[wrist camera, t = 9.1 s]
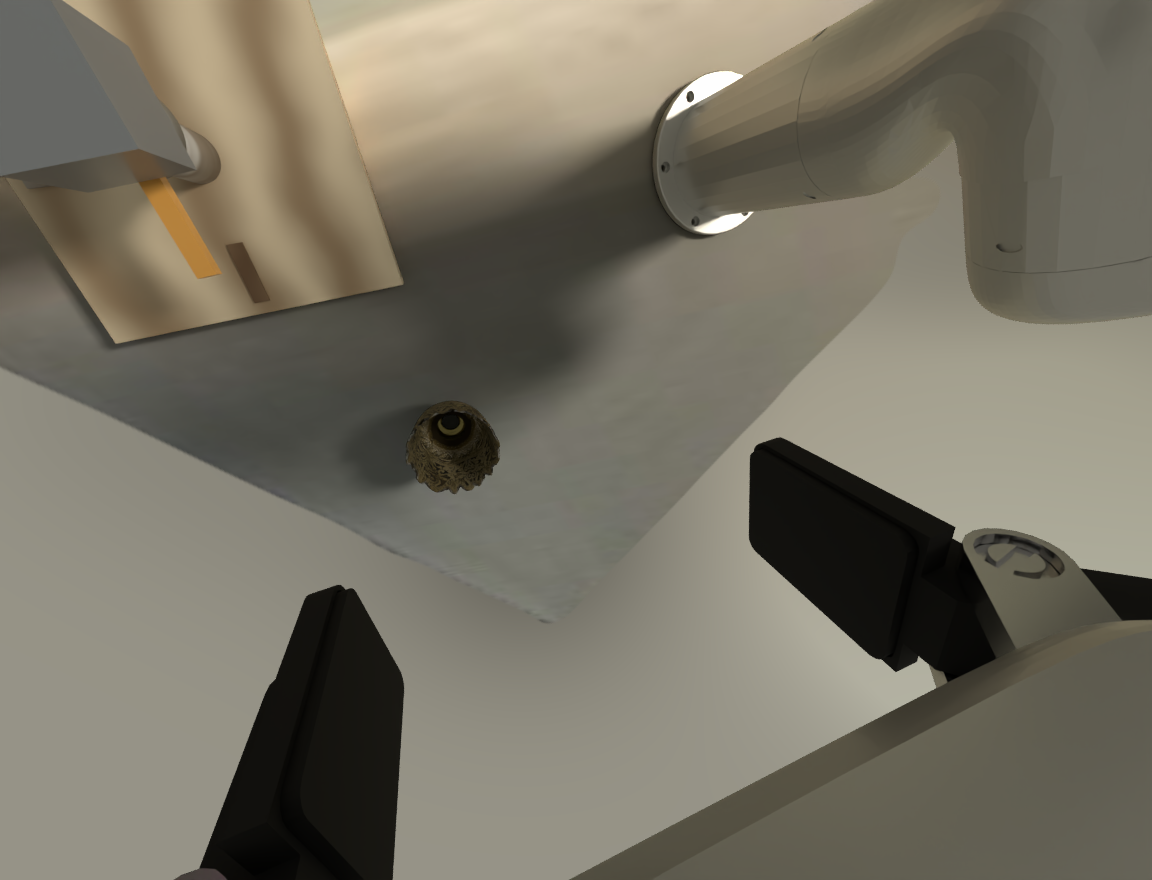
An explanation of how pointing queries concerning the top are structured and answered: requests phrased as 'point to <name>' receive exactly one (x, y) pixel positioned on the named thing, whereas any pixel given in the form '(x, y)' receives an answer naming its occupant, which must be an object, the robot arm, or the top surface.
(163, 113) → the cap
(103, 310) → the block
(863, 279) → the top surface
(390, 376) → the top surface
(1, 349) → the top surface
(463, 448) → the cup
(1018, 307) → the robot arm
